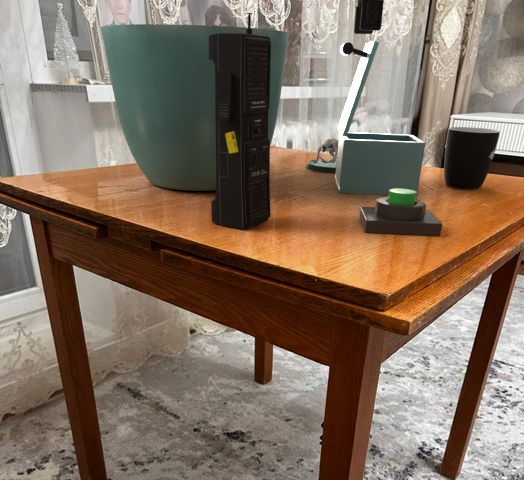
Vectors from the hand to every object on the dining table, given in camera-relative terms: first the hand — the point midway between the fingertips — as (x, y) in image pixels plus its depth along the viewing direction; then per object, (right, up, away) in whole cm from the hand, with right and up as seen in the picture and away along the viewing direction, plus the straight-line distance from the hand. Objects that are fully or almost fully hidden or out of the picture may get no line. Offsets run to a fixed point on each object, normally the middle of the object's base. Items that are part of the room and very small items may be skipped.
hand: (366, 32), depth 88 cm
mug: (+22, -20, +17) cm, 34 cm away
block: (+2, -35, -12) cm, 37 cm away
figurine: (-2, -13, +29) cm, 31 cm away
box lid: (-1, -8, +4) cm, 9 cm away
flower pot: (-28, -21, +11) cm, 37 cm away
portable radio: (-20, -34, -13) cm, 42 cm away
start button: (+2, -32, -14) cm, 35 cm away
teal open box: (+4, -22, +12) cm, 25 cm away
